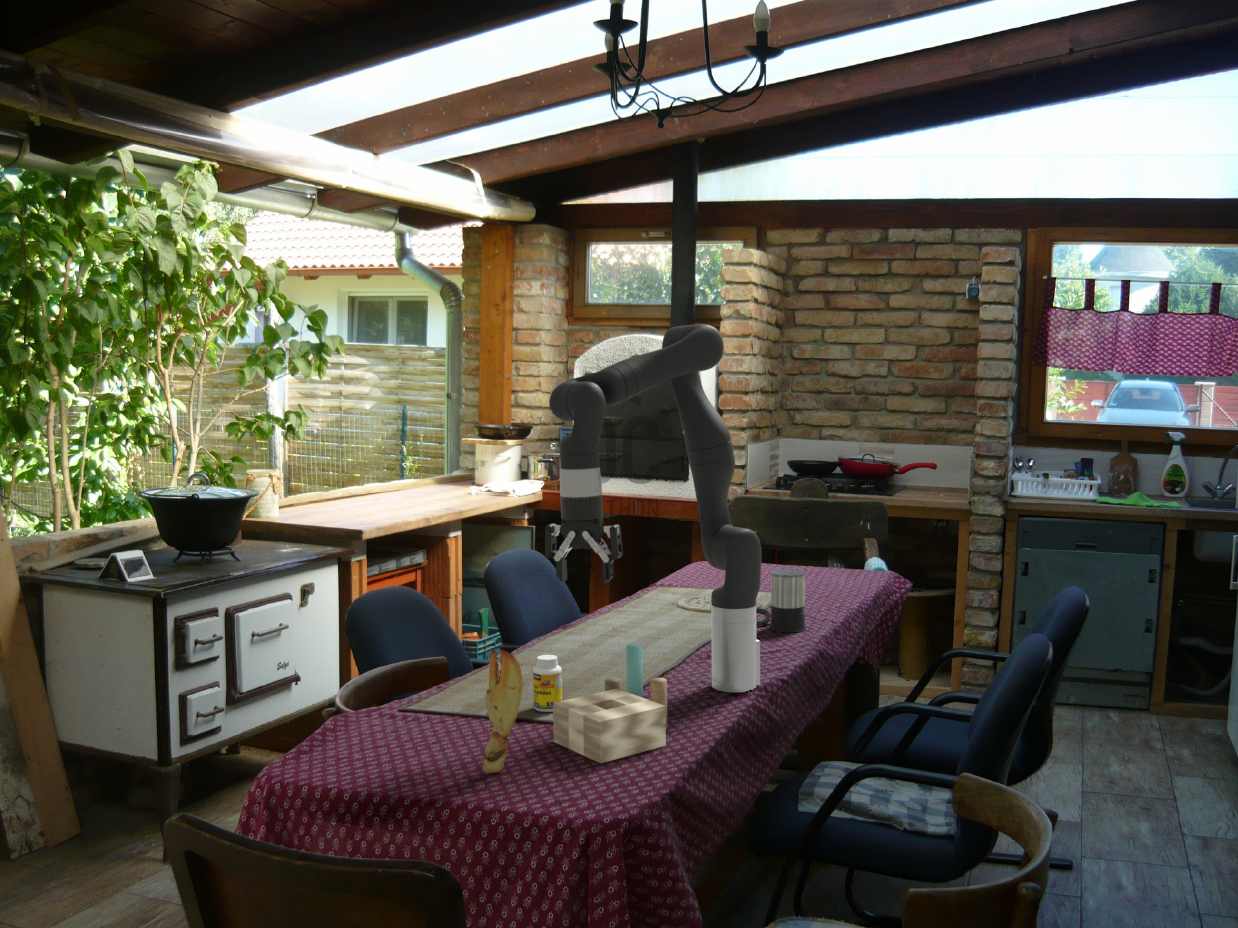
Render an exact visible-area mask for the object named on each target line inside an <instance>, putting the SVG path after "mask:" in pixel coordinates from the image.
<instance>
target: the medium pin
mask: <svg viewBox="0 0 1238 928" xmlns="http://www.w3.org/2000/svg"><path fill="white" fill-rule="evenodd" d="M649 681H650V683H649V685H650V690H649V691H650V692H649V693H650V694H649V695H650V697H649V698H650V699H649V700H650V701H653V702H656V703H659V704H661V705H664V706H665V711H666V731H667V730H668V685H667V684H668V683H667V682H668V680H667V678H664V677H654V678H651V679H650V680H649Z"/></svg>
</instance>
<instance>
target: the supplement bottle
mask: <svg viewBox="0 0 1238 928" xmlns="http://www.w3.org/2000/svg"><path fill="white" fill-rule="evenodd" d="M558 659H559V658H558V656H557V655H553V654H542V655H538V656H537V657H536V666H534V667H533V669H532V673H533V675H532V677H533V678H532V679H533V681H532V683H533V684H532V685H533V687H532V689H533V708H534V710H536V711H537V712H540V713H541V712H542V713H553V703H554V702H559V701H563V670H562V667H561V666H560V665H559V662H558Z"/></svg>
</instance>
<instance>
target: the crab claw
mask: <svg viewBox="0 0 1238 928" xmlns="http://www.w3.org/2000/svg"><path fill="white" fill-rule="evenodd" d="M498 653H500V657H501V658H500V660H499V662H500V664H499V663H498ZM499 667H500V668H501V669H499ZM488 672H489V675H488V690H486V696H485V697H486V698H485V699H486V710H487V712H486V715H487V716H488V717H489V718H488V720H489V721H490V722H491V723H492V726H493V729H491V730H490V738H489V741H488V743H487V744H486V746H484V747H483V748H484V751H483V753H482V760H483V764H482V768H481V770H482V772H483V773H484V775H487V774H496V773H500V772H502V771H503V769H504V766H505V761H506V755H507V752H508V748H507V747H508V745H509V743H510V741H509V738H508V737H509V735H510V733H511V732H512V729H513V727H514V725H515V723H516V719H517V716H518V712H519V707H520V704H521V700H522V693H523V672H522V669H521V666H520V663H519V662H518V660H517V658H516V657H515V656H514V655H513V654H512V653H511V652H509V650H506V649H503V648H498V649H497V650H494V651H492V653H491V655H490V660H489V671H488Z"/></svg>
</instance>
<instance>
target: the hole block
mask: <svg viewBox="0 0 1238 928" xmlns="http://www.w3.org/2000/svg"><path fill="white" fill-rule="evenodd" d="M552 713H553V714H552V715H553V716H552V717H553V718H552V719H553V722H552V723H553V725H552V726H553V743H555V744H558V745H560V746H562V747H564V748H566V749H569V750H571V751H573V752H574V753H577V754H579V755H582V756H584V757H586V758H588V759H590V760H592V761H595V762H597V763H599V764H604V763H607V762H611V761H614V760H618V759H621V758H625V757H630V756H633V755H637V754H641V753H643V752H647V751H652V750H656V749H658V748H659V749H660V748H662V747H666V745H667V740H666V739H667V735H666V731H667V730H666V711H665V706H664V705H661V704H659V703H656V702H653V701H650V699H647V698H644V697H643V698H642V697H639V696H636V695H633V694H631V693H628V692H627V691H624V690H622V689H621V690H620V689H612V690H608V691H605V690H604V691H600V692H595V693H590V694H586V695H581V696H577V697H572V698H568V699H564V700H563V699H562V701H559V702H554V703H553V712H552Z"/></svg>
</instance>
